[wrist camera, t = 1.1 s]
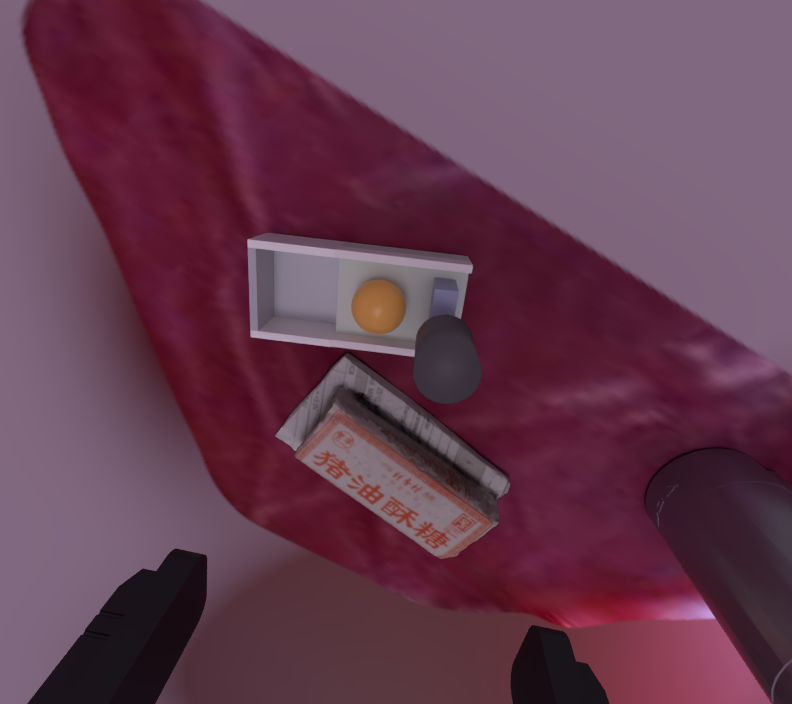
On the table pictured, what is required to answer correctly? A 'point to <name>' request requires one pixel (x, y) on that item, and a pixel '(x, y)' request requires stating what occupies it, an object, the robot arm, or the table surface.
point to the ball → (378, 307)
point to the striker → (445, 350)
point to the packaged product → (395, 459)
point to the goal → (293, 288)
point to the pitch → (409, 275)
